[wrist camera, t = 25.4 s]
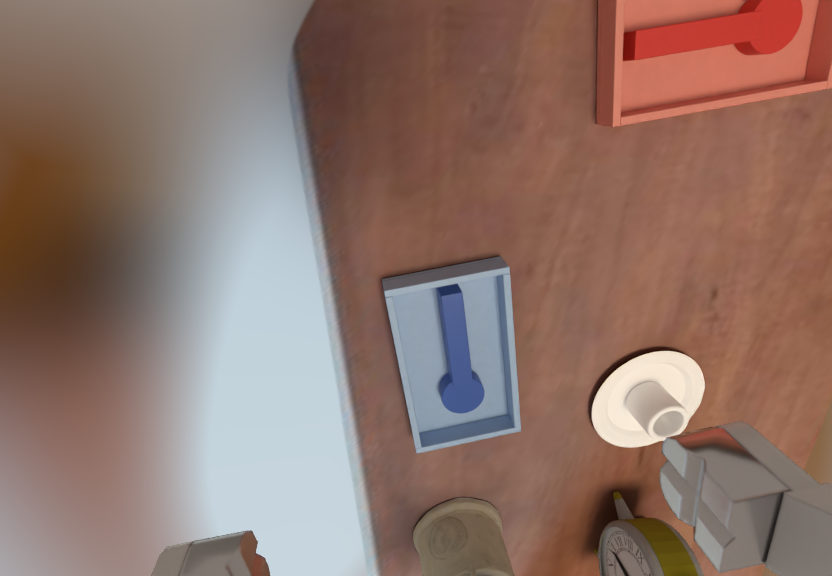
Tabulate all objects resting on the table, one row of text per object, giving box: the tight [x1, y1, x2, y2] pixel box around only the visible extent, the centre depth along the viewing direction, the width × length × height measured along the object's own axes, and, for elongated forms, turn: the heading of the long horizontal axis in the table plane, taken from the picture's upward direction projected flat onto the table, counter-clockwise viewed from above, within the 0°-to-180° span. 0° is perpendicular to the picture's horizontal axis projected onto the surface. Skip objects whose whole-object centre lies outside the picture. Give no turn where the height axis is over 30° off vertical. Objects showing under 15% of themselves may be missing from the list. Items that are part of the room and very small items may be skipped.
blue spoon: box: [436, 283, 485, 414], centre depth 40 cm, size 13×4×2 cm, turn 9°
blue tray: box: [382, 256, 521, 453], centre depth 41 cm, size 17×10×2 cm, turn 9°
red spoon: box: [623, 0, 803, 61], centre depth 32 cm, size 13×4×2 cm, turn 99°
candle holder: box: [592, 351, 705, 447], centre depth 46 cm, size 12×12×4 cm
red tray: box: [596, 0, 832, 127], centre depth 33 cm, size 17×10×2 cm, turn 99°
